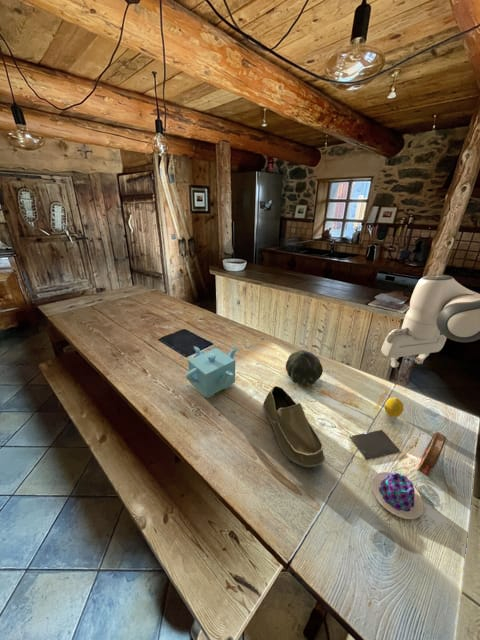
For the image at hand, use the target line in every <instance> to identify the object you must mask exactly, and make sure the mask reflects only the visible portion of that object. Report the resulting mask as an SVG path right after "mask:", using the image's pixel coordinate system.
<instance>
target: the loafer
mask: <svg viewBox="0 0 480 640" xmlns="http://www.w3.org/2000/svg"><path fill="white" fill-rule="evenodd" d="M262 407H263V411H264V412H265V415H266V417H267V419H268V420H269V422H270V424H271V426H272V429H273V432H274V434H275V439H276V442H277V444H278V446H279V448H280V450H281V451H282V453H283V454H284V455H285V456H286V457H287V458H288V459H289V460H290V461H291V462H293V463H294V464H296V465H298V466H300V467H304V468H313V467H318V466H321V465H322V464H323V463H325V458H326V457H325V455H324V445H323V443H322V441H321V439H320V437H319V436H318V434H317V433H316V432H315V430H314V428H313V426H312V425H311V423H310V422H309V420H308V418H307V416H306V413H305V411H304V409H303V406H302V404H301V402H298V403H296V402H295V400H294V399H293V397H292V396H291V395H289V394H288V393H287V391H286V390H285V389H284V387H281V386H279V385H273V387H272V388H271V389H270V390H269V392H268V393H267V395H266V396H265V399H264V401H263V404H262Z"/></svg>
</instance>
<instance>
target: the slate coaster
mask: <svg viewBox="0 0 480 640" xmlns="http://www.w3.org/2000/svg"><path fill="white" fill-rule="evenodd" d="M349 438H350V440H351V442H353V444H354V445H355V447H356V449H358V451H359V452H360V454H361V455H362V456H363V458H364V459H365V460H368V459H372V458H377V457H381V456H385V455H390V454H394V453H399V452H401V451H400V450H401V449H400V448H399V447H398V446H397V445H396V444H395V442H393V441H392V439H391V438H390V437H389V436H388V435H387V434H386V432H385V431H384V430H383V429H379V430H373V431H369V432H364V433H358V434H354V435H350V436H349Z"/></svg>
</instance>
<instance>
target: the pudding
mask: <svg viewBox="0 0 480 640" xmlns="http://www.w3.org/2000/svg"><path fill="white" fill-rule="evenodd" d="M371 490H372V492H373V495H374V497H375V499H376V500H377V501H378V502H379V504H380V505H381V506H382V507H383V508H384V509H385V510H386V511H388V512H389V513H391V514H392V515H394V516H396V517H399V518H401V519H406V520H414V519H417V518H419V517H420V516H421V515H422V514H423V512H424V501H423V499H422V495H421V494H420V493H419V491H418V489H417V488H416V487H415V486H414V484H413V482H412V481H411V480H409V479H408V477H407V476H406V475H404V474H400V473H399V472H390V471H381V472H378V473H376V474H375V475H374V476H373V477H372V479H371Z"/></svg>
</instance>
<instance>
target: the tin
mask: <svg viewBox="0 0 480 640" xmlns="http://www.w3.org/2000/svg"><path fill="white" fill-rule="evenodd" d="M446 440H447V437H446V436H445V435H444V434H442V433H441V432H439V431H438V430H436V431H435V432H434V434H433V435H432V437H431V439H430V440H429V443H428V444H427V446H426V448H425V450H424V452H423V454H422V457H421V459H420V462H419V463H418V466H417V469H416V470H417V471H418V472H420V473H422V474H423V475H425V476H427V477H428V476H430V472H431V471H432V470H433V469H434V468H435V466H436V465H437V464H438V461H439V459H440V456H441V454H442V451H443V449H444V447H445V443H446Z"/></svg>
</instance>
